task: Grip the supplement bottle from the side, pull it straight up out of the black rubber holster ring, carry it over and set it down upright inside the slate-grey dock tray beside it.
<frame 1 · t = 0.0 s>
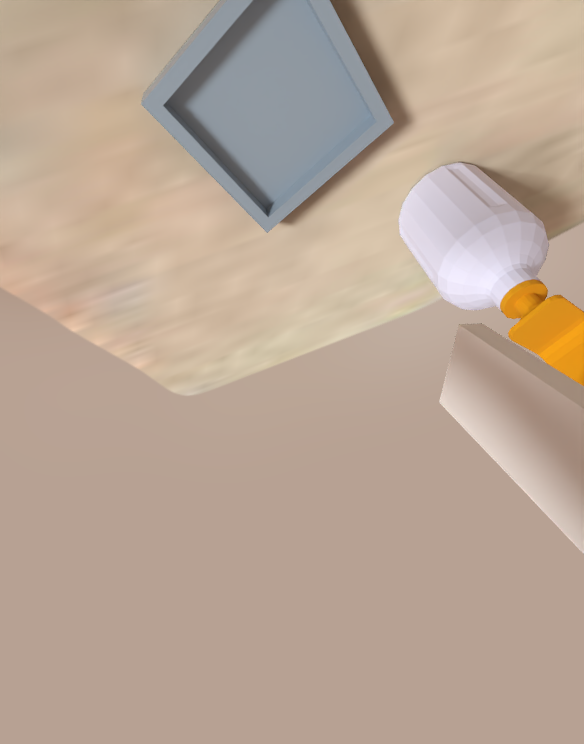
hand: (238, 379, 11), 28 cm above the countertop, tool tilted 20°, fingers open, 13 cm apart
soap bottle: (440, 207, 40), on the countertop
dock tray: (270, 103, 31), on the countertop
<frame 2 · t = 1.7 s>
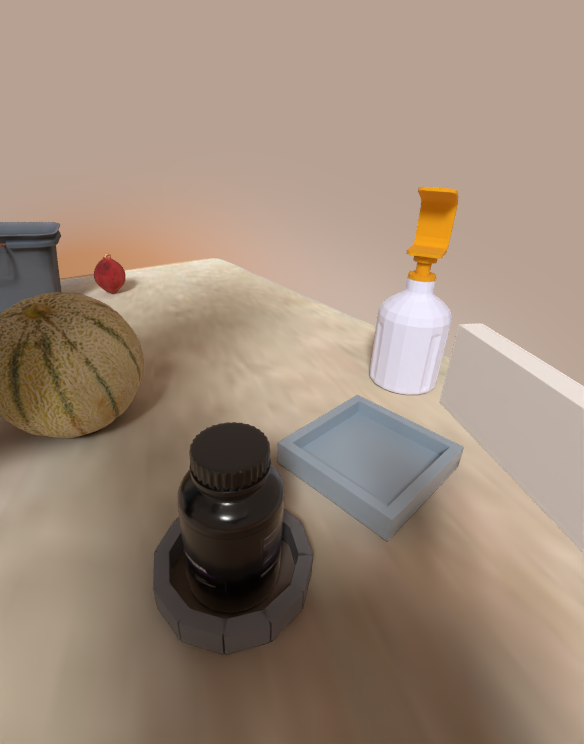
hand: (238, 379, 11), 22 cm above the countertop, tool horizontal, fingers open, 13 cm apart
supplement bottle: (235, 572, 30), resting in holster ring
cantaloupe: (82, 424, 45), on the countertop
soap bottle: (401, 380, 57), on the countertop
pomegranate: (113, 294, 84), on the countertop
dock tray: (368, 464, 41), on the countertop
storage bin: (11, 311, 73), on the countertop
holster ring: (235, 570, 30), on the countertop
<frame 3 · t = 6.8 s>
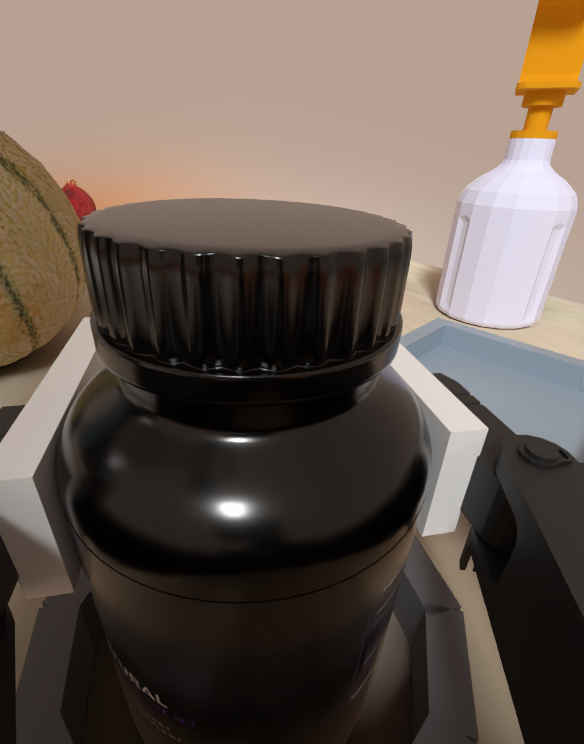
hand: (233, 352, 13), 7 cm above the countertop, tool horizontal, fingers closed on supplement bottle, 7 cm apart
supplement bottle: (254, 652, 12), resting in holster ring, touching gripper
soap bottle: (483, 314, 39), on the countertop
pomegranate: (81, 234, 66), on the countertop
dock tray: (483, 418, 23), on the countertop
holster ring: (255, 648, 12), on the countertop
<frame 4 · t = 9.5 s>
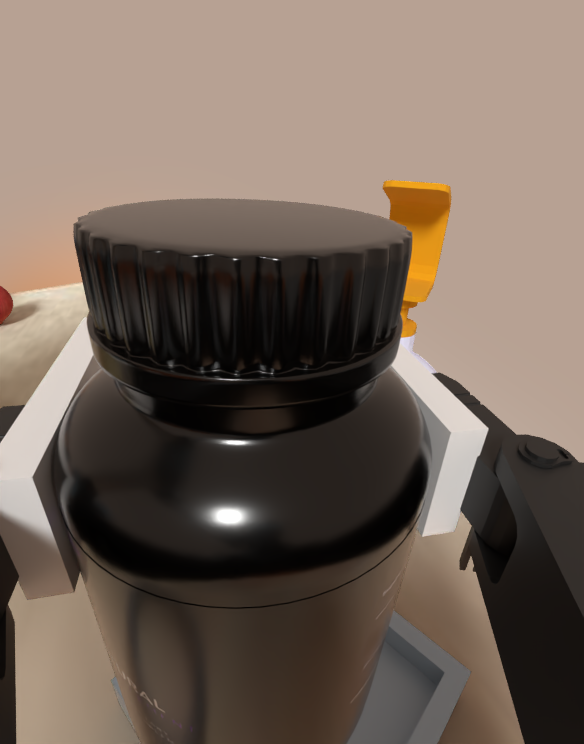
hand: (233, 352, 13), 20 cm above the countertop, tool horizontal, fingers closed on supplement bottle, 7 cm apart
supplement bottle: (254, 654, 12), point 13 cm above the countertop, touching gripper
soap bottle: (368, 472, 38), on the countertop
dock tray: (293, 699, 22), on the countertop
when the fingers open (10 cm above the countertop, at t = 12.5 s): supplement bottle drops 1 cm, resting on dock tray.
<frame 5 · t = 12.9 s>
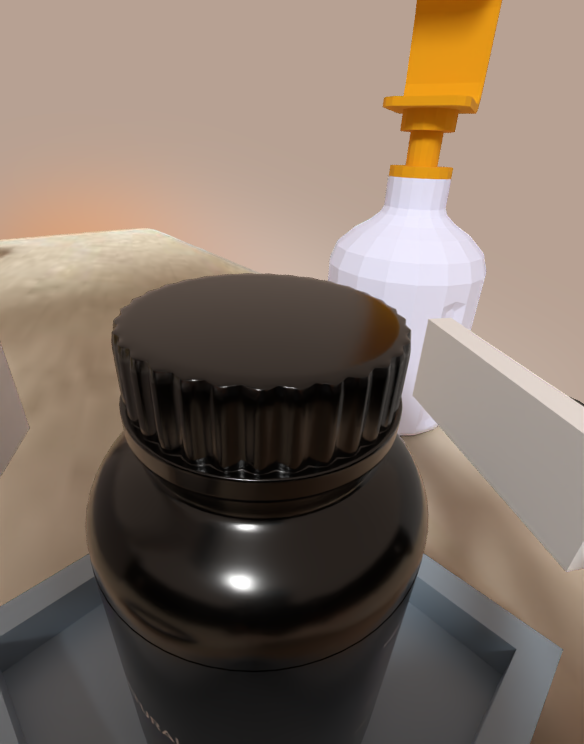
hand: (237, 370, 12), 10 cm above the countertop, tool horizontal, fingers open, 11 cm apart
supplement bottle: (261, 679, 13), point 1 cm above the countertop, touching dock tray
soap bottle: (381, 402, 29), on the countertop
dock tray: (256, 689, 13), on the countertop
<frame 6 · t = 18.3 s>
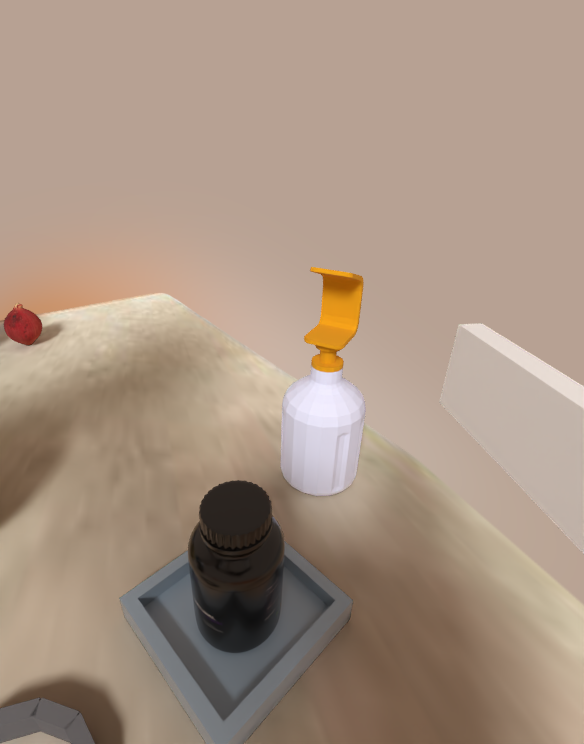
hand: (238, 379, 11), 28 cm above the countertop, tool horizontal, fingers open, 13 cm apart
supplement bottle: (239, 612, 33), point 1 cm above the countertop, touching dock tray
soap bottle: (318, 471, 49), on the countertop
pomegranate: (29, 345, 76), on the countertop
dock tray: (238, 617, 33), on the countertop
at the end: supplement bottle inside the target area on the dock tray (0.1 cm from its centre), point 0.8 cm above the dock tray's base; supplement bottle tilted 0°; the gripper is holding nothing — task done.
